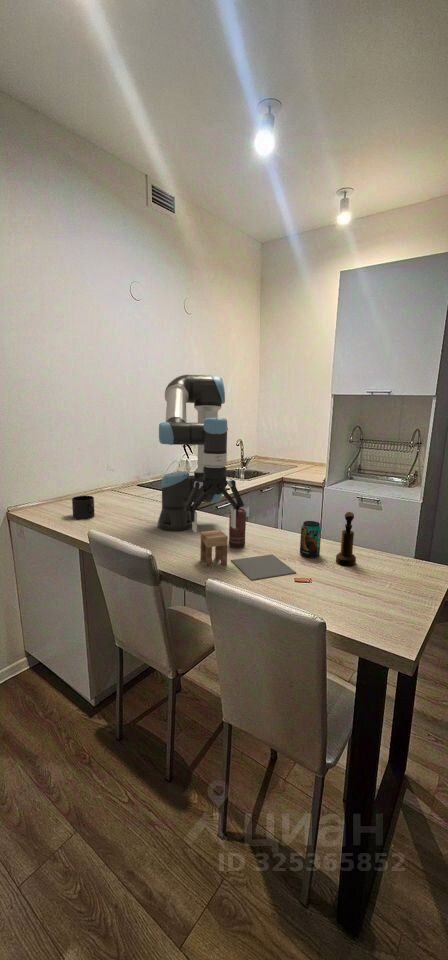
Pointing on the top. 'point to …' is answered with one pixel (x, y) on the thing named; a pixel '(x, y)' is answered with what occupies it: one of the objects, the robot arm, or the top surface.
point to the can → (238, 530)
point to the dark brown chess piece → (347, 544)
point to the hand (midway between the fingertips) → (214, 529)
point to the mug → (83, 507)
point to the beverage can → (310, 539)
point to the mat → (262, 567)
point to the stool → (213, 540)
